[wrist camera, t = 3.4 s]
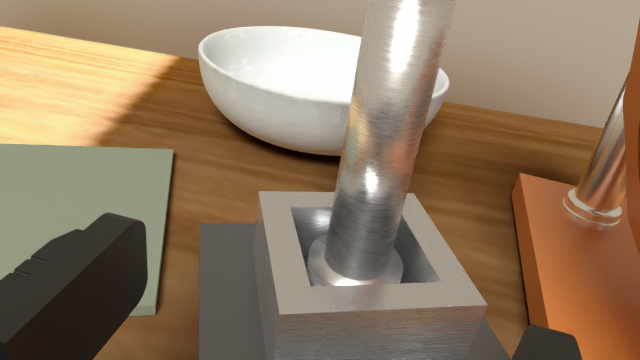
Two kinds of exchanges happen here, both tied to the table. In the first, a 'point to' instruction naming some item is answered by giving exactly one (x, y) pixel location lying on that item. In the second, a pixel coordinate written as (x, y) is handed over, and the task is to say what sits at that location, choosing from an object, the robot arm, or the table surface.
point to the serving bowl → (288, 84)
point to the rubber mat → (81, 199)
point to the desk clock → (589, 239)
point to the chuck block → (333, 293)
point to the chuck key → (381, 141)
